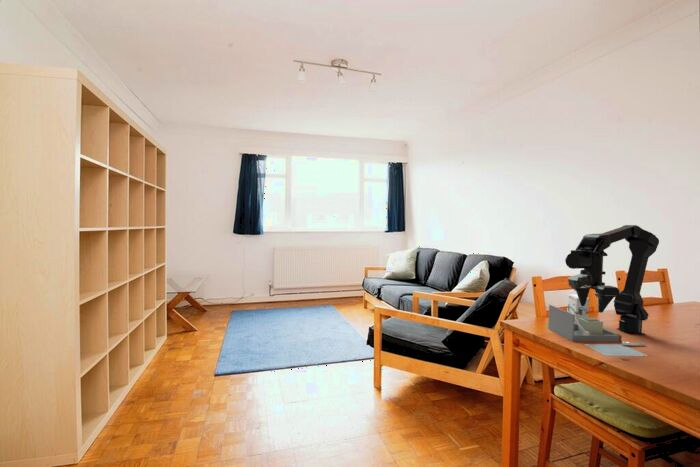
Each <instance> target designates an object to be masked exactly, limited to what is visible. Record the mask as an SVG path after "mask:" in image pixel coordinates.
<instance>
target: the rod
mask: <svg viewBox="0 0 700 467" xmlns="http://www.w3.org/2000/svg"><path fill="white" fill-rule="evenodd" d="M620 344H621V345H623V346H627V347H647V344H646V343H644V342H631V341H621V342H620Z"/></svg>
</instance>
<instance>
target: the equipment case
mask: <svg viewBox="0 0 700 467" xmlns="http://www.w3.org/2000/svg"><path fill="white" fill-rule="evenodd" d="M574 321H575V323H576V324H574ZM547 323H548V330H550V331H552V332H554V333H556V334H558V335H559V336H561V337H563V338H565V339H567V340H569V341H570V342H613V343H614V342H617V343H618V342H620V343H621V342H622V335H620V334H619V333H617V332H613V331H611V330H610V329H607V328H604V327H603V333H602V335H589V332H588V331H585V330H584V329H583V327H582V326H581V325H580V323H579V322H578V321H577V320H576V318H575V315H574V314H572V313H569V312H567V310H564V309H562V308H560V307H557V306H554V305H552V304H549V306H548V322H547ZM578 327H579V328H580V329H581V330H582V331H581V334H578Z"/></svg>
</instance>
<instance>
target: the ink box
mask: <svg viewBox="0 0 700 467" xmlns="http://www.w3.org/2000/svg"><path fill="white" fill-rule="evenodd" d="M567 296H568V297H567V308H566V309H567V310H566V311H567V312H569V313H572V314H574V315H575V318H576V320H577V321H578V322H579V318H589V304H590V298H589V297H587V300H586V303H585V306H581V304H580V301H579V298H578V295H577V293H568V295H567ZM574 324H576V323H575V321H574Z"/></svg>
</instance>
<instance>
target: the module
mask: <svg viewBox="0 0 700 467" xmlns="http://www.w3.org/2000/svg"><path fill="white" fill-rule="evenodd" d="M579 323H580V325H581V326H582V327H583V329H584V330H585V331H588V332H589V335H602V333H603V328H604V321H602V320H600V319H597V318H594V317H588V318H579ZM581 331H582V330H581V329H580V328H579V327H578V334H581Z"/></svg>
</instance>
